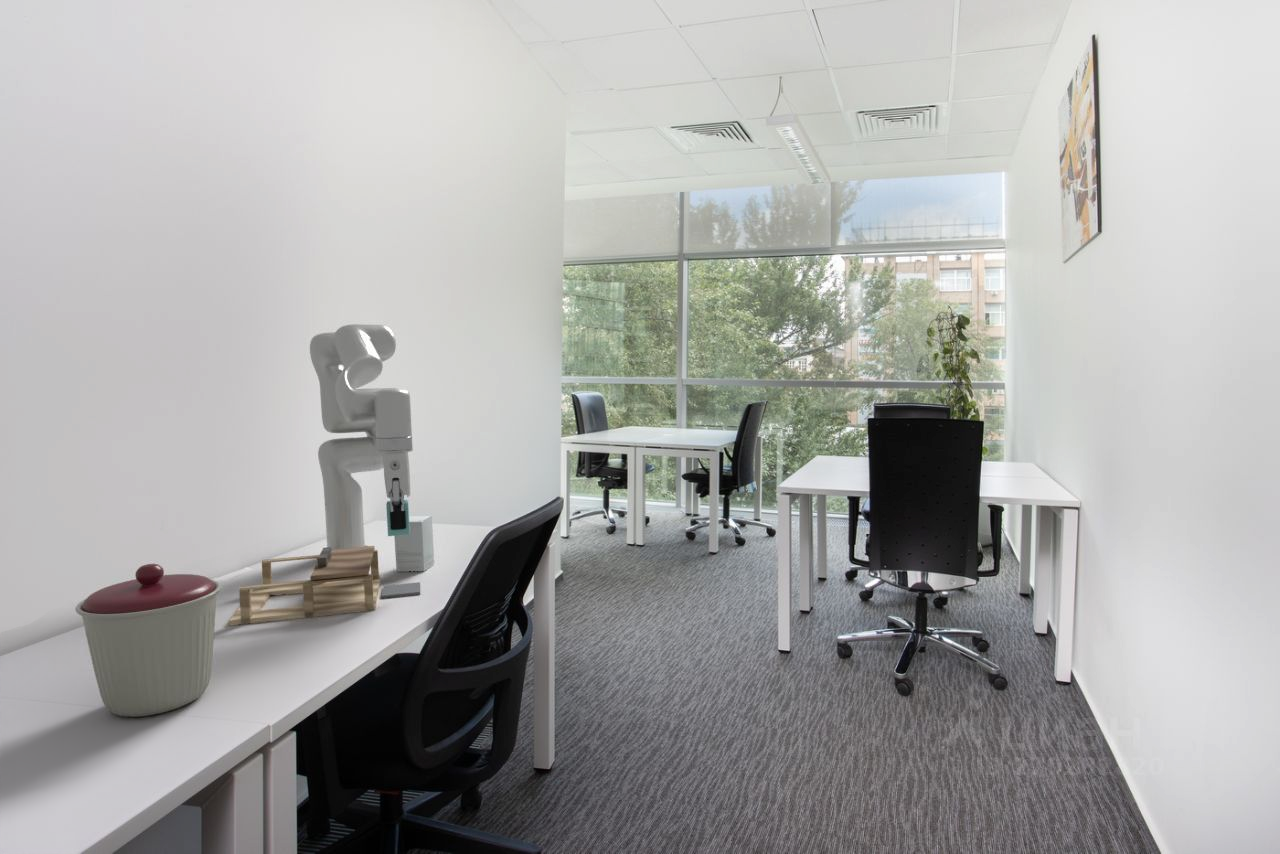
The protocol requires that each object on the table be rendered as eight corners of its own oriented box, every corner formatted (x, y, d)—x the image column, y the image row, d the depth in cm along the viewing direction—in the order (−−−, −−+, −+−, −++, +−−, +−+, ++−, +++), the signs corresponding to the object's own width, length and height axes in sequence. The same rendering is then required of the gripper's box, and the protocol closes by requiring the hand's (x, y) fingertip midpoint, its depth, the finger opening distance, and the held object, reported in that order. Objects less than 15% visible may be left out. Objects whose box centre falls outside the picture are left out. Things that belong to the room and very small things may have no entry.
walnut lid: (324, 553, 173) (323, 541, 173) (374, 549, 176) (374, 537, 176) (310, 580, 150) (309, 566, 150) (368, 574, 153) (367, 561, 153)
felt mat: (383, 588, 170) (383, 585, 170) (420, 584, 172) (419, 582, 172) (381, 598, 162) (381, 595, 162) (420, 594, 164) (420, 591, 164)
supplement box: (435, 564, 190) (433, 515, 189) (424, 572, 183) (421, 521, 182) (407, 564, 191) (405, 515, 190) (395, 572, 184) (392, 521, 183)
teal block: (388, 532, 167) (387, 501, 167) (409, 530, 169) (408, 499, 168) (388, 536, 163) (386, 504, 162) (409, 534, 164) (407, 502, 164)
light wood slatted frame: (254, 591, 169) (252, 560, 169) (380, 579, 177) (378, 549, 176) (229, 625, 146) (227, 589, 146) (375, 610, 154) (373, 575, 154)
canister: (54, 719, 107) (42, 575, 106) (173, 671, 124) (163, 546, 122) (142, 739, 101) (130, 586, 99) (254, 685, 118) (246, 554, 116)
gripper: (412, 447, 157) (416, 533, 159) (412, 441, 174) (416, 519, 175) (374, 449, 155) (379, 536, 157) (378, 443, 171) (382, 521, 173)
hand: (398, 526), depth 166 cm, fingers closed on teal block, 4 cm apart
